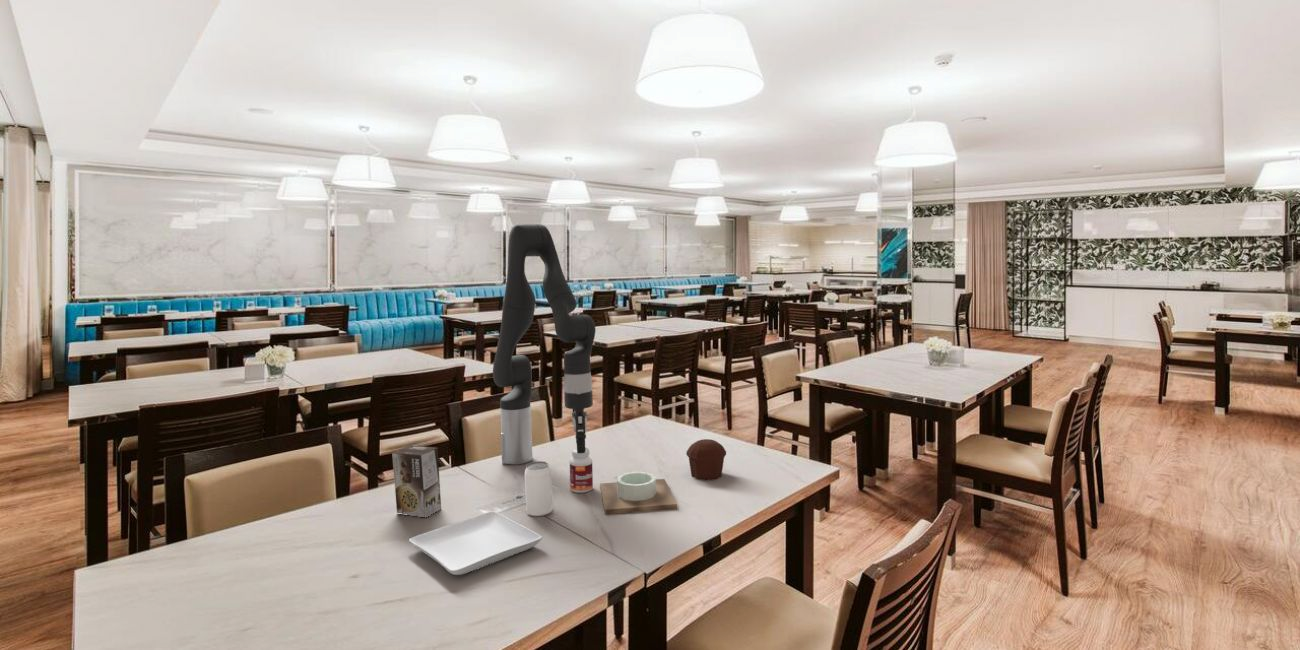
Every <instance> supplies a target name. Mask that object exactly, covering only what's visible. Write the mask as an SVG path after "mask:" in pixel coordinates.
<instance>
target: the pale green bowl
mask: <svg viewBox="0 0 1300 650" xmlns="http://www.w3.org/2000/svg"><path fill="white" fill-rule="evenodd" d="M616 482H617V494H618V497H620V498H622V499H624V500H630V501H641V500H647V499H650V498H653V497H654V496H655V495H656V476H655V475H654V474H652V473H650V472H644V471H629V472H625V473H622V474H620V475H619V476H618V477H616Z"/></svg>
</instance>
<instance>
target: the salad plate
mask: <svg viewBox="0 0 1300 650" xmlns="http://www.w3.org/2000/svg"><path fill="white" fill-rule="evenodd" d="M542 539H543V536H542V535H540V534H539V533H537V532H535V531H533V530H532V529H530V528H528V527H526V526H524V525H522V524H521V523H519V522H516V521H514V520H512V519H511V518H509V517H507V516H505V515H503V514H502V513H499V512H497V511H494V510H493V511H492V510H491V511H489V512H485V513H482V514H478V515H475V516H472V517H470V518H467V519H463V520H460V521H457V522H453V523H450V524H448V525H445V526H442V527H438V528H436V529H433V530H430V531H427V532H424V533H421V534H418V535H416V536H415V535H414V536H413V537H410V538H409V539H408V540H409V543H410V545H411V546H413V547H414V548H415V549H417V550H419V551H420V552H422V553H424V554H425V555H426V556H428V557H430V558H431V559H432V560H434V561H435V562H436V563H438V564H439V565H440V566H442V568H444V569H445V570H446V571H447V572H448V573H450V574H451V575H454V576H461V575H464V574H468V572H469V573H471V572H470V571H472V572H474V571H476V570H475V569H477V570H479V569H478V568H480V567H482V568H484V567H483V566H485V567H487V566H489V565H488V564H490V565H492V564H495V563H497V562H500V561H502V560H504V558H505V559H507V558H509V556H510V557H512V556H515V555H517V554H519V553H522V552H525V551H527V550H529V549H531V548H533V547H535V546H536V545H537V544H539V542H541V540H542ZM514 554H515V555H514ZM506 557H507V558H506ZM501 559H502V560H501ZM499 560H500V561H499ZM496 561H497V562H496ZM494 562H495V563H494ZM491 563H492V564H491ZM486 565H487V566H486ZM480 569H481V568H480ZM473 570H474V571H473Z"/></svg>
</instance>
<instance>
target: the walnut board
mask: <svg viewBox="0 0 1300 650" xmlns="http://www.w3.org/2000/svg"><path fill="white" fill-rule="evenodd" d="M599 489H600V494H601V500H602V506H603V510H604V515H614V514H615V515H616V514H617V515H618V514H627V513H640V512H651V511H652V512H654V511H663V510H664V511H666V510H676V509H678V503H677V501H676V499H675V497H674V495H673V493H672V491H671V489H670V487H669V485H668V483H667V481H666V479H665V478H658V479H656V495H655V496H654V497H653V498H650V499H647V500H641V501H630V500H624V499H622V498H620V497H618V494H617V481H616V482H603V483H599Z"/></svg>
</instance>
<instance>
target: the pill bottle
mask: <svg viewBox="0 0 1300 650" xmlns="http://www.w3.org/2000/svg"><path fill="white" fill-rule="evenodd" d="M571 456H572V457H571V458H570V459H569V489H570V490H571V492H573V493H578V494H584V493H588V492H590V491H592V490H593V488H594V485H593V484H594V482H593V481H594V480H593V478H594V477H593V472H594V471H593V458H592V457H591V456H590V449H589V448H587V447H585V453H577V447H576V448H574V449H572V450H571Z"/></svg>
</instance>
